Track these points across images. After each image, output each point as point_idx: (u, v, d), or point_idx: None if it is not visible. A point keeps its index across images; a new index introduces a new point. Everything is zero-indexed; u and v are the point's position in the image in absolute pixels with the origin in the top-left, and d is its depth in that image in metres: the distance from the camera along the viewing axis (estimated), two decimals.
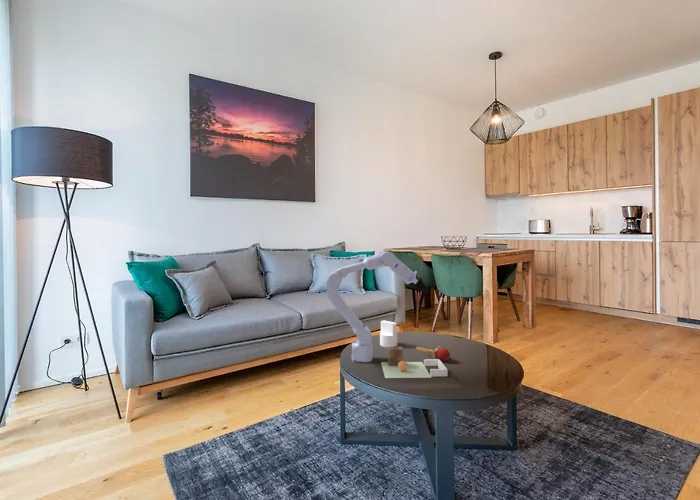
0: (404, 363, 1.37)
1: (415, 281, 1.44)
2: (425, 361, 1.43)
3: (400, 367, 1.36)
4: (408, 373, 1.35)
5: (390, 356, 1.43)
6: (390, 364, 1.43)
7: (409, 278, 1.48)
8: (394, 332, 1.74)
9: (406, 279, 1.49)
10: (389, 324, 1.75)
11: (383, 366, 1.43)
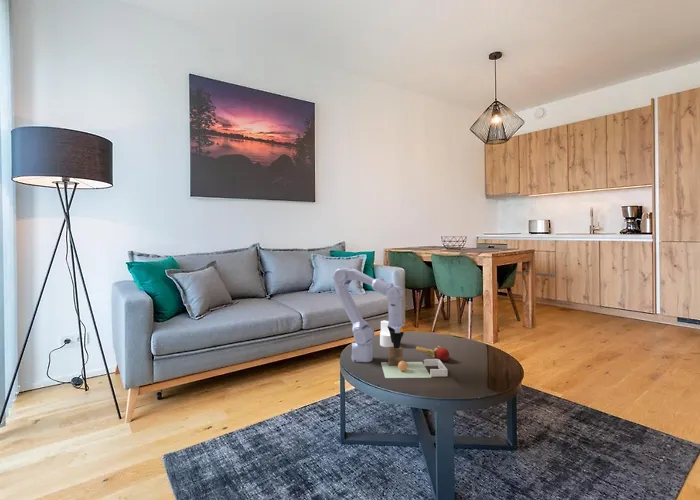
0: (404, 363, 1.37)
1: (397, 331, 1.38)
2: (425, 361, 1.43)
3: (400, 367, 1.36)
4: (408, 373, 1.35)
5: (390, 356, 1.43)
6: (390, 364, 1.43)
7: (394, 324, 1.42)
8: None
9: (391, 322, 1.43)
10: None
11: (383, 366, 1.43)
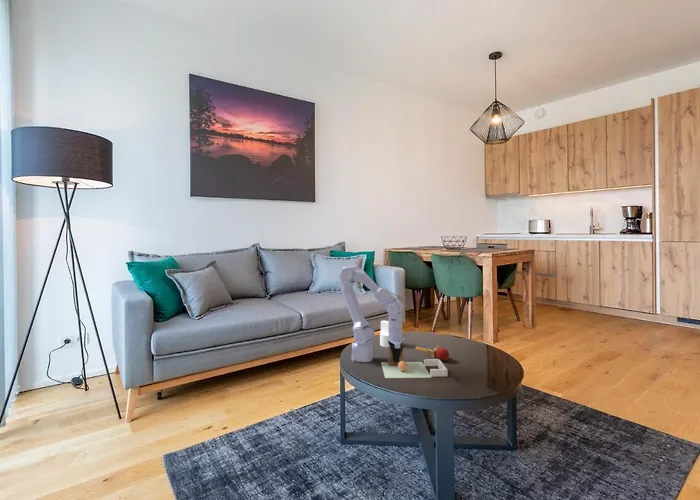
0: (404, 363, 1.37)
1: (397, 346, 1.38)
2: (425, 361, 1.43)
3: (400, 367, 1.36)
4: (408, 373, 1.35)
5: (390, 356, 1.43)
6: (390, 364, 1.43)
7: (394, 338, 1.42)
8: None
9: (391, 337, 1.43)
10: None
11: (383, 366, 1.43)
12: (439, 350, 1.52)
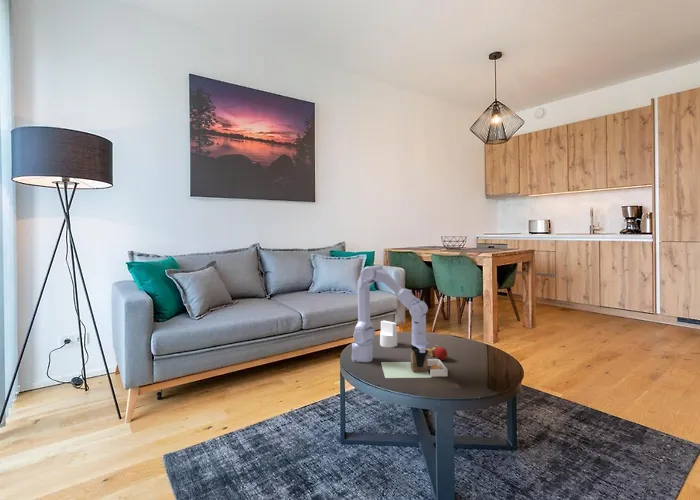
0: (439, 368, 1.37)
1: (422, 351, 1.30)
2: None
3: None
4: (408, 373, 1.35)
5: (414, 361, 1.36)
6: (414, 369, 1.36)
7: (418, 342, 1.35)
8: (394, 332, 1.74)
9: (415, 341, 1.35)
10: (389, 324, 1.75)
11: (383, 366, 1.43)
12: (437, 349, 1.53)
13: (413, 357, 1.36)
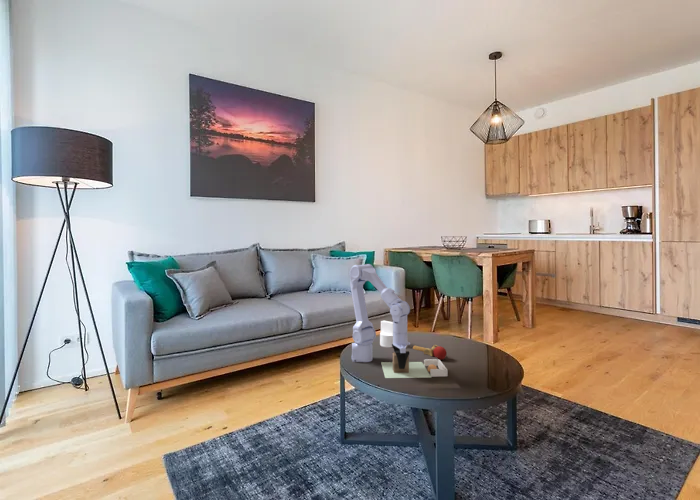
0: (434, 367, 1.36)
1: (403, 351, 1.30)
2: (425, 361, 1.43)
3: None
4: (408, 373, 1.35)
5: (395, 362, 1.36)
6: (395, 371, 1.36)
7: (399, 343, 1.35)
8: None
9: (396, 341, 1.35)
10: (389, 324, 1.75)
11: (383, 366, 1.43)
12: (437, 349, 1.54)
13: (394, 358, 1.36)
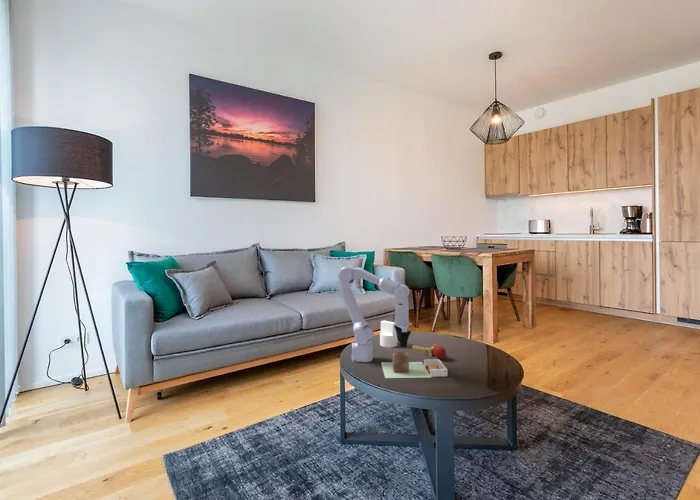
0: (435, 367, 1.36)
1: (404, 330, 1.38)
2: (425, 361, 1.43)
3: None
4: (408, 373, 1.35)
5: (395, 362, 1.36)
6: (395, 371, 1.36)
7: (401, 323, 1.43)
8: (394, 332, 1.74)
9: (398, 321, 1.43)
10: (389, 324, 1.75)
11: (383, 366, 1.43)
12: (436, 348, 1.54)
13: (394, 358, 1.36)
